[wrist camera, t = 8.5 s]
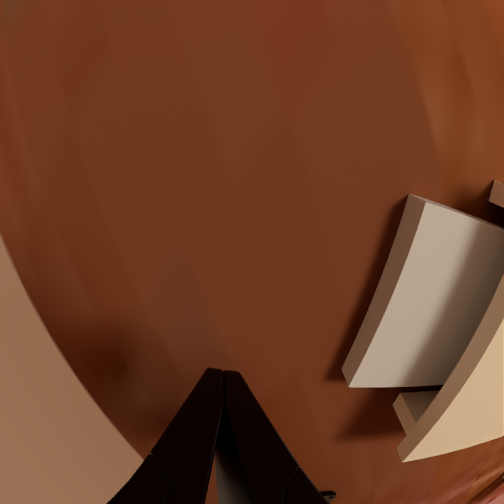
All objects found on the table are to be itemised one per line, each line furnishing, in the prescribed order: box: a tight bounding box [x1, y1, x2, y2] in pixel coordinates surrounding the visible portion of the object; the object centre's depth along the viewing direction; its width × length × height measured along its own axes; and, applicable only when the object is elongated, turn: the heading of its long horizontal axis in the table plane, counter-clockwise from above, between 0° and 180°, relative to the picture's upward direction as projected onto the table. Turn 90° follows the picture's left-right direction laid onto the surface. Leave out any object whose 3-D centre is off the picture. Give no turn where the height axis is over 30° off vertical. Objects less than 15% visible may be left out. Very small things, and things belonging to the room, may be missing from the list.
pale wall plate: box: [342, 194, 504, 387], centre depth 15 cm, size 10×14×2 cm
